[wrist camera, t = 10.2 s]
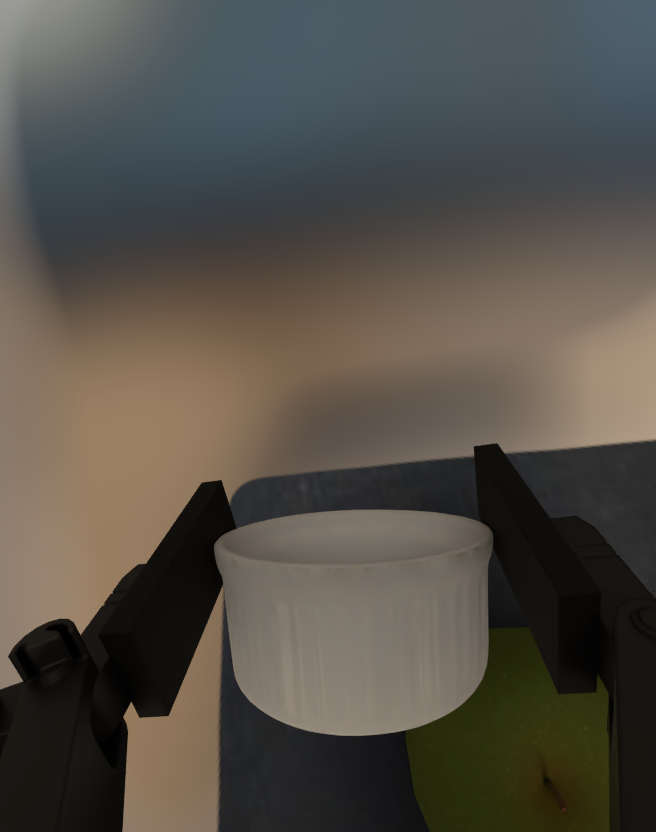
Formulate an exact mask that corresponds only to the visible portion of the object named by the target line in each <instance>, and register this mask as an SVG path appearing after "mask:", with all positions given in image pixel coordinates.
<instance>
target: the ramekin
mask: <svg viewBox="0 0 656 832" xmlns="http://www.w3.org/2000/svg"><path fill="white" fill-rule="evenodd" d="M492 549H493V532H492V531H491V529H490V528H489V527H488V526H487V525H485V524H483V523H481V522H479V521H476V520H473V519H469V518H467V517H462V516H456V515H448V514H442V513H436V512H424V511H410V510H347V511H346V510H341V511H330V512H317V513H308V514H301V515H293V516H285V517H280V518H274V519H270V520H266V521H262V522H257V523H253V524H250V525H246V526H243V527H240V528H237V529H234V530H232V531H230V532H228V533H226V534H224V535H222V536H221V537H220V538H219V539H218V540H217V541H216V543H215V544H214V554H215V559H216V563H217V567H218V569H219V572H220V574H221V575H222V579H223V586H224V595H225V603H226V612H227V620H228V628H229V636H230V645H231V653H232V661H233V668H234V674H235V678H236V681H237V683H238V685H239V687H240V689H241V691H242V692H243V693H244V694H245V696H246V697H247V698H248V699H249V701H250V702H252V703H253V704H254V705H255V706H256V707H258V708H259V709H260V710H262V711H263V712H265V713H266V714H268V715H269V716H271V717H273V718H275V719H276V720H279V721H281V722H283V723H286V724H288V725H291V726H294V727H297V728H300V729H304V730H307V731H312V732H317V733H323V734H331V735H340V736H364V735H379V734H386V733H394V732H399V731H404V730H409V729H413V728H416V727H419V726H422V725H425V724H428V723H430V722H432V721H434V720H437V719H439V718H441V717H443V716H445V715H447V714H448V713H450V712H452V711H454V710H455V709H457V708H458V707H459V706H460V705H462V704H463V703H464V702H465V701H466V700H467V699H468V698H469V697H470V696H471V695H472V694H473V693H474V691H475V690H476V688H477V687H478V685H479V684H480V682H481V681H482V679H483V676H484V673H485V669H486V667H487V661H488V643H489V638H488V563H489V559H490V557H491V554H492Z"/></svg>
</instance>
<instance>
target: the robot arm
mask: <svg viewBox="0 0 656 832" xmlns="http://www.w3.org/2000/svg"><path fill="white" fill-rule="evenodd" d="M474 456H475V470H476V483H477V497H478V510H479V516H480V519H481V521H482V523H483V524H485V525H487V526H488V527H489V528H490V529H491V531H492V532H493V548H494V550H495V553H496V555H497V557H498V559H499V562H500V564H501V566H502V568H503V571H504V573H505V575H506V577H507V580H508V582H509V584H510V586H511V589H512V591H513V593H514V595H515V598H516V600H517V602H518V604H519V607H520V609H521V611H522V613H523V616H524V618H525V620H526V622H527V625H528V627H529V629H530V631H531V634H532V636H533V638H534V641H535V643H536V645H537V647H538V650H539V652H540V654H541V656H542V659H543V661H544V663H545V665H546V668H547V670H548V672H549V674H550V677H551V679H552V681H553V683H554V686H555V688H556V690H557V692H558V695H559V694H577V693H596V692H597V673H598V675H599V677H600V679H601V681H602V682H603V684H604V686H605V688H606V690H607V691H608V693H609V701H608V717H607V733H608V739H609V823H610V832H656V599H655V598H654V597H653V596H652V595H651V593H650V592H649V591H648V590H647V589H646V587H645V586H644V585H643V584H642V583H641V582H640V580H639V579H638V578H637V577H636V576H635V574H634V573H633V572H632V571H631V570H630V568H629V567H628V566H627V565H626V564H625V563H624V561H623V560H622V559H621V558H620V557H619V555H616V552H615V551H614V550H613V548H612V547H611V546H610V545H609V544H607V543H606V540H605V539H604V538H603V536H602V535H601V534H600V533H599V532H598V531H597V529H596V528H595V527H594V526H592V525H590V524H589V523H587V522H585V521H584V520H582V519H580V518H579V517H577V516H571V517H561V518H552V519H550V518H549V516H548V515H547V513H546V512H545V511H544V509H543V508H542V506H541V505H540V503H539V502H538V501H537V499H536V498H535V496H534V495H533V493H532V492H531V491H530V489H529V488H528V486H527V485H526V484H525V482H524V481H523V479H522V478H521V476H520V475H519V474H518V472H517V471H516V469H515V468H514V466H513V465H512V464H511V462H510V461H509V459H508V458H507V457H506V455H505V454H504V452H503V451H502V449H501V448H500V447H499V445H498V444H497V443H496V444H489V445H482V446H474ZM234 529H237V528H236V525H235V522H234V519H233V515H232V512H231V509H230V506H229V503H228V499H227V496H226V493H225V490H224V487H223V484H222V481H221V480H219V481H212V482H204V483H201V485H200V486H199V488H198V489H197V491H196V492H195V493H194V495H193V496H192V498H191V499H190V501H189V502H188V504H187V505H186V507H185V508H184V509H183V511H182V512H181V514H180V515H179V517H178V518H177V520H176V521H175V523H174V524H173V526H172V527H171V529H170V530H169V531H168V533H167V534H166V536H165V537H164V539H163V540H162V542H161V543H160V544H159V546H158V547H157V549H156V550H155V552H154V553H153V555H152V556H151V558H150V559H149V560H148V562H147V563H146V564H139V565H137V566H136V567H135V568H133V569H132V570H131V571H130V572H129V573H128V574H127V575H125V576H124V577H123V578H122V579H121V581H120V582H119V583H118V585H117V586H116V588H115V589H114V590H113V594H110V596H109V597H108V598H107V600H106V601H105V605H104V606H102V607H101V608H100V609H99V611H98V612H97V614H96V615H95V616H94V618H93V619H92V621H91V622H90V624H89V625H88V626H87V627H86V629H85V630H84V632H83V633H82V634H81V635H80V633H79V632H78V630H77V628H76V626H75V624H74V622H72V621H71V620H69V619H57V620H54V621H50V622H48V623H45V624H43V625H41V626H39V627H37V628H36V629H34V630H33V631H31V632H30V633H29V634H27V635H26V636H24V637H23V638H22V640H20V641H19V642H18V643H17V644H16V645H15V646H14V648H13V650H12V651H11V653H10V654H9V656H8V657H9V659H10V660H11V662H12V664H13V665H14V667H15V668H16V670H17V672H18V673H19V675H20V677H21V678H22V680H23V682H21V683H18V684H15V685H12V686H9V687H6V688H4V689H1V690H0V832H122V828H123V810H124V793H125V775H126V758H127V757H126V756H127V740H128V729H127V724H126V722H125V720H124V718H123V716H124V714H125V712H126V710H127V709H128V707H129V705H130V703H131V702H132V704H133V706H134V708H135V710H136V712H137V714H138V715H139V717H140V718H142V717H160V716H169V714H170V711H171V709H172V706H173V704H174V701H175V699H176V697H177V694H178V692H179V689H180V687H181V685H182V682H183V680H184V677H185V675H186V672H187V670H188V668H189V665H190V663H191V660H192V658H193V656H194V653H195V650H196V648H197V646H198V644H199V641H200V639H201V636H202V634H203V632H204V629H205V627H206V624H207V622H208V619H209V617H210V615H211V612H212V610H213V607H214V605H215V603H216V600H217V598H218V595H219V593H220V591H221V588H222V586H223V579H222V575H221V574H220V572H219V569H218V567H217V563H216V559H215V554H214V544H215V543H216V541H217V540H218V539H219V538H220V537H221V536H222V535H224V534H226V533H228V532H230V531H232V530H234Z"/></svg>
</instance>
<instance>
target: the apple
mask: <svg viewBox="0 0 656 832" xmlns="http://www.w3.org/2000/svg"><path fill="white" fill-rule="evenodd" d="M488 638H489V643H488V661H487V667H486V669H485V673H484V676H483V679H482V681H481V682H480V684H479V685H478V687H477V688H476V690H475V691H474V693H473V694H472V695H471V696H470V697H469V698H468V699H467V700H466V701H465V702H464V703H463V704H462V705H460V706H459V707H458V708H457V709H455V710H454V711H452V712H450V713H448V714H447V715H445V716H443V717H441V718H439V719H437V720H434V721H432V722H430V723H428V724H425V725H422V726H419V727H416V728H413V729H409V730H407V731H406V734H405V739H406V745H407V752H408V758H409V764H410V770H411V776H412V782H413V788H414V794H415V797H416V800H417V802H418V804H419V807H420V809H421V812H422V814H423V816H424V819H425V821H426V824H427V826H428V828H429V831H430V832H610V823H609V739H608V733H607V717H608V701H609V693H608V691H607V690H606V688H605V686H604V684H603V682H602V681H601V679H600V677H599V675H598V673H597V692H596V693H577V694H559V695H558V692H557V690H556V688H555V686H554V683H553V681H552V679H551V677H550V674H549V672H548V670H547V668H546V665H545V663H544V661H543V659H542V656H541V654H540V652H539V650H538V647H537V645H536V643H535V641H534V638H533V636H532V634H531V631H530V629H529V627H517V628H488Z"/></svg>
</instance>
